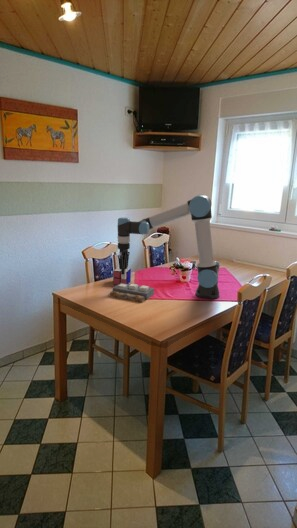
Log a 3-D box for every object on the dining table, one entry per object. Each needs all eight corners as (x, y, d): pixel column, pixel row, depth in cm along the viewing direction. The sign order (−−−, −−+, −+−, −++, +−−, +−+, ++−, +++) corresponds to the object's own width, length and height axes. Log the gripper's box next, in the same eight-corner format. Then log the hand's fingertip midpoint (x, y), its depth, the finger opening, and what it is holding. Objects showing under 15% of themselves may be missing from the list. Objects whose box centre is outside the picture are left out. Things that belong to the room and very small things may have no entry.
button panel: (153, 294, 218) (154, 288, 217) (146, 299, 208) (146, 293, 206) (120, 288, 227) (121, 282, 226) (112, 293, 216) (112, 287, 215)
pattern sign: (144, 300, 207) (145, 296, 206) (142, 302, 203) (142, 298, 202) (112, 294, 215) (112, 290, 214) (109, 296, 211) (109, 292, 210)
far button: (127, 290, 221) (127, 284, 220) (124, 292, 217) (124, 286, 216) (121, 289, 222) (121, 283, 221) (118, 291, 218) (118, 285, 217)
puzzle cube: (127, 285, 233) (127, 272, 230) (113, 284, 234) (113, 270, 232) (130, 281, 242) (131, 268, 240) (117, 280, 244) (117, 267, 241)
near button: (148, 292, 215) (148, 286, 214) (146, 294, 211) (146, 288, 210) (142, 291, 217) (142, 285, 216) (139, 293, 213) (139, 287, 212)
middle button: (137, 290, 218) (138, 284, 217) (135, 292, 214) (135, 286, 213) (131, 289, 219) (131, 283, 218) (128, 291, 215) (128, 285, 214)
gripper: (122, 240, 219) (123, 275, 225) (113, 243, 207) (113, 280, 213) (133, 241, 216) (133, 276, 222) (124, 244, 204) (124, 282, 210)
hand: (123, 278), depth 217 cm, fingers closed
